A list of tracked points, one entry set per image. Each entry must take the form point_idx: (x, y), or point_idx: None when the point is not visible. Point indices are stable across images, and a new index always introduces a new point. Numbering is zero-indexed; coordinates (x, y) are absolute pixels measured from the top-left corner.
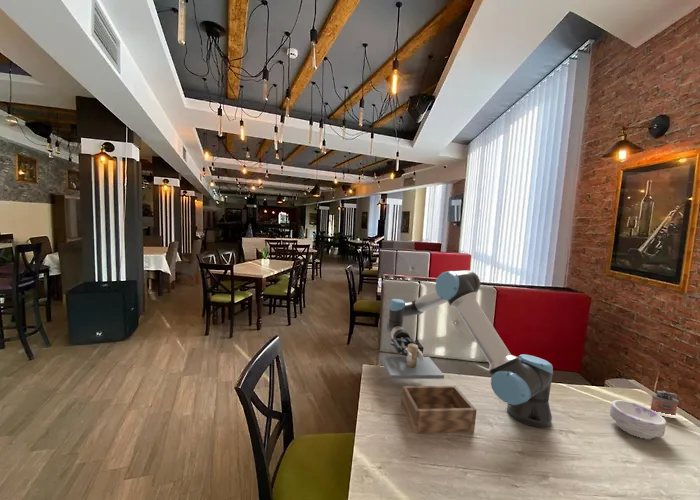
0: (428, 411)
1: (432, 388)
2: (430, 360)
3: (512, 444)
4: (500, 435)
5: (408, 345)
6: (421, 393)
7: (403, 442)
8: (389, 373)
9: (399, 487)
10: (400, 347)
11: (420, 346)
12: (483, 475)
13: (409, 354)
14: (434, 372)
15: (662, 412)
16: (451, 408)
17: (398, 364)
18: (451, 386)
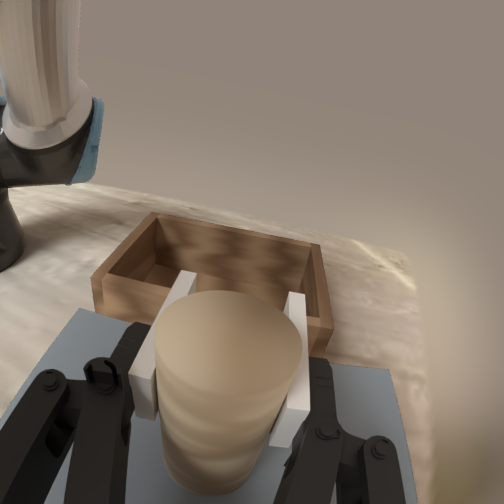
0: (286, 239)
1: None
2: None
3: (111, 231)
4: (106, 245)
5: (296, 351)
6: None
7: (335, 286)
8: (392, 393)
9: (355, 244)
10: (368, 442)
11: (42, 413)
12: (224, 223)
13: (304, 311)
14: (104, 341)
15: None
16: (214, 228)
17: None
18: (111, 277)
